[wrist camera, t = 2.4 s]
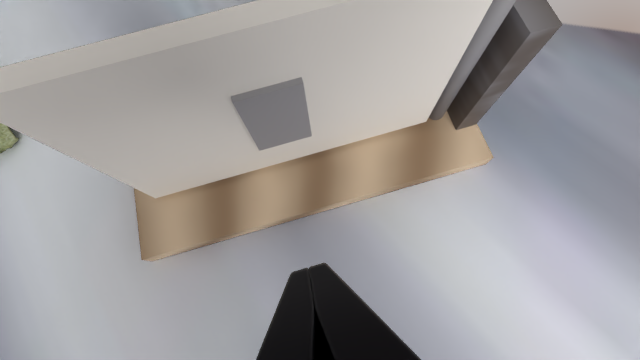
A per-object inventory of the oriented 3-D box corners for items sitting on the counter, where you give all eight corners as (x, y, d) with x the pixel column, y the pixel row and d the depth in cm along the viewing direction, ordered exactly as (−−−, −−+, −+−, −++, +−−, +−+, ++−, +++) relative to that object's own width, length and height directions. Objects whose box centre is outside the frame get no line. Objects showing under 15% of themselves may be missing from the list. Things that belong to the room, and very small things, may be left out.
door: (156, 202, 21) (-40, 111, 10) (153, 182, 21) (-38, 74, 10) (448, 120, 22) (560, -48, 11) (439, 102, 22) (539, -76, 11)
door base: (152, 261, 21) (3, 241, 12) (139, 152, 24) (7, 62, 14) (485, 164, 22) (597, 73, 13) (439, 68, 25) (504, -68, 15)
